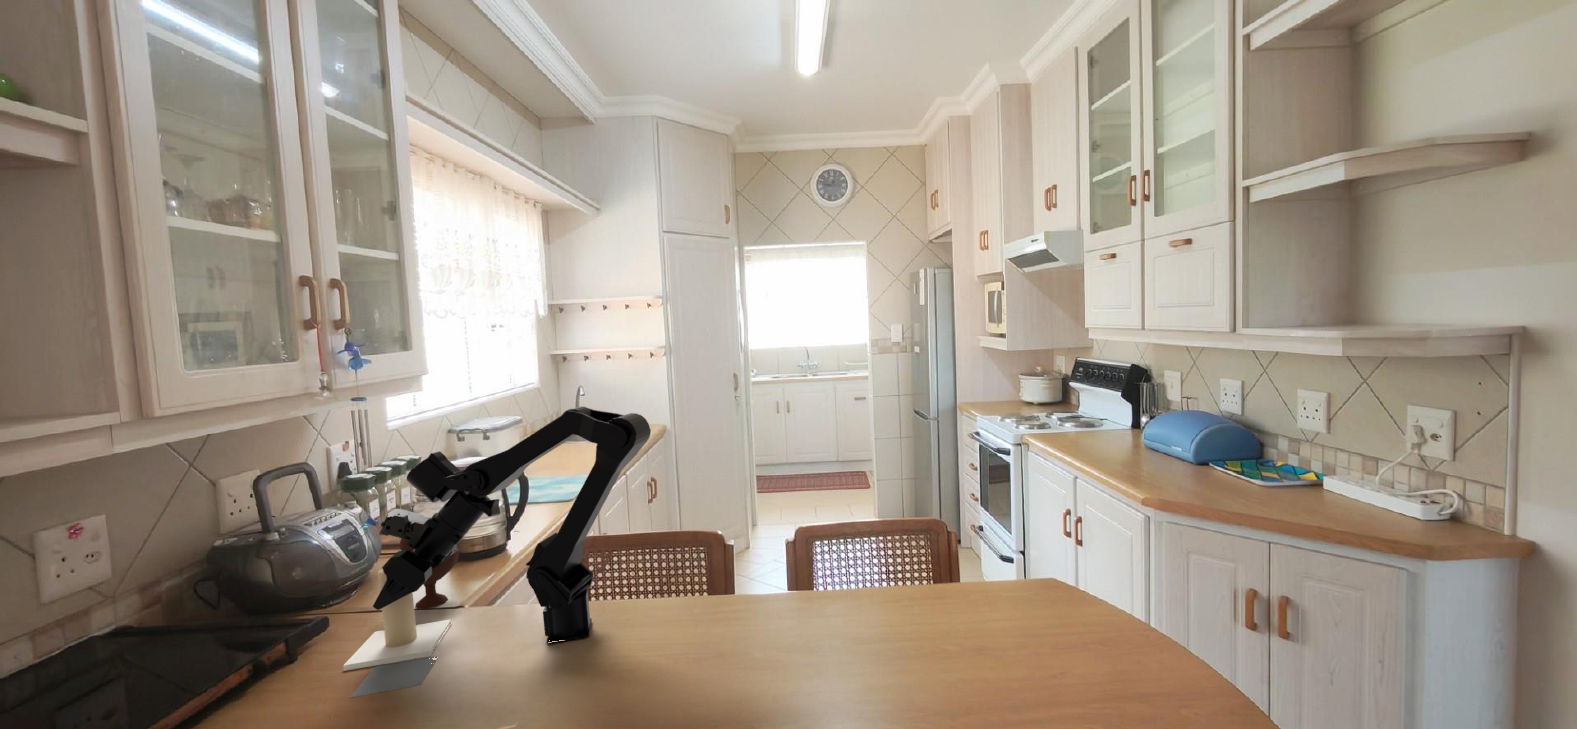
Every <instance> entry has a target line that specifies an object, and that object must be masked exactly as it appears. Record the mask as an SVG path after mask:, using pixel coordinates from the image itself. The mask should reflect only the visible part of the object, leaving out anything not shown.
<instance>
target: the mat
mask: <svg viewBox="0 0 1577 729" xmlns="http://www.w3.org/2000/svg"><path fill="white" fill-rule="evenodd" d="M435 656H436V657H435V658H437V656H438V655H435ZM429 658H430V659H429ZM432 658H434V656H428V657H422V658H416V659H411V660H405V661H399V662H393V663H387V664H381V665H376V666H374V668H373V669H372V670H371V671H370V672H369V674H367V676H366V677H365V679H363V681H361V683H360V684H359V685H358V686H357V688H356V689H355V691H354V692H353V693H352V694H351V695H350V696H349V699H351V698H352V699H353V698H356V697H363V696H368V695H373V694H374V695H375V694H380V693H385V692H386V693H387V692H391V691H397V690H401V689H407V688H413V687H418V686H419V687H420V686H421V685H422V684H423V682H424V681H425V679H426V677H427V676H428V674H429V673H430V672H431V670H432V669H433V667H434V665H435V664H433V663H436V662H437V661H436V660H433V659H432ZM431 663H432V664H431Z"/></svg>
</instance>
